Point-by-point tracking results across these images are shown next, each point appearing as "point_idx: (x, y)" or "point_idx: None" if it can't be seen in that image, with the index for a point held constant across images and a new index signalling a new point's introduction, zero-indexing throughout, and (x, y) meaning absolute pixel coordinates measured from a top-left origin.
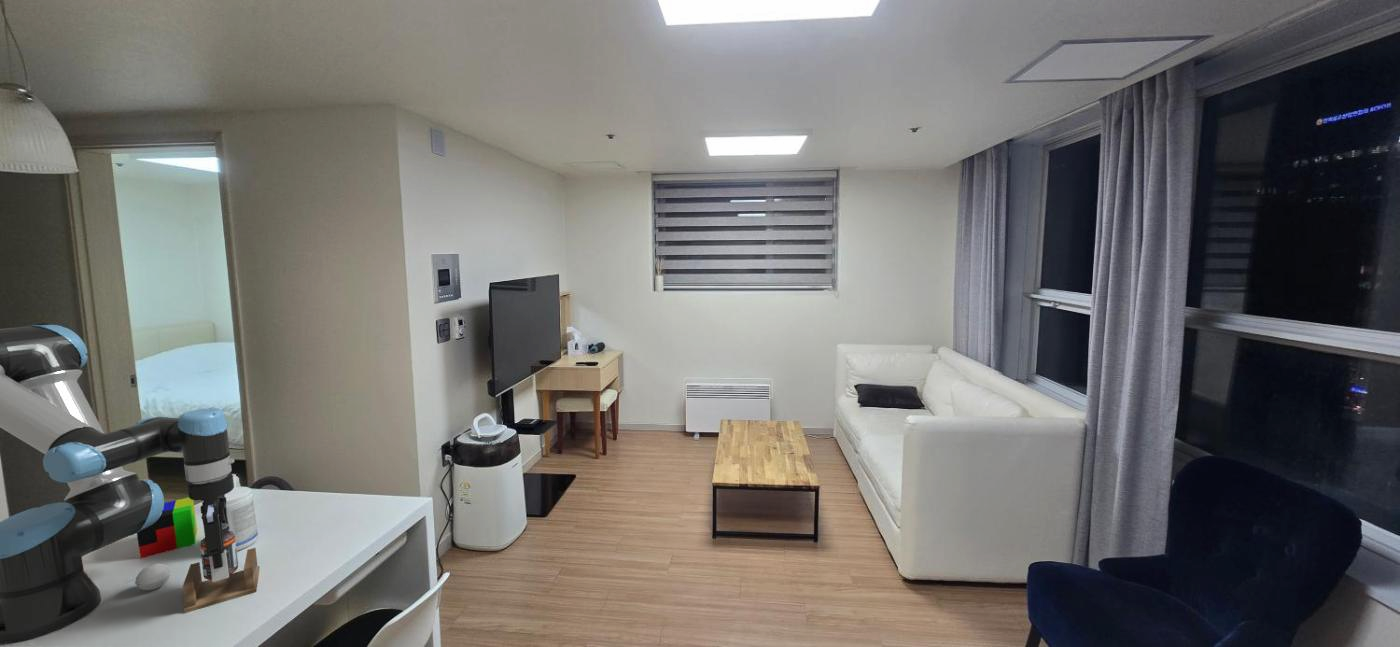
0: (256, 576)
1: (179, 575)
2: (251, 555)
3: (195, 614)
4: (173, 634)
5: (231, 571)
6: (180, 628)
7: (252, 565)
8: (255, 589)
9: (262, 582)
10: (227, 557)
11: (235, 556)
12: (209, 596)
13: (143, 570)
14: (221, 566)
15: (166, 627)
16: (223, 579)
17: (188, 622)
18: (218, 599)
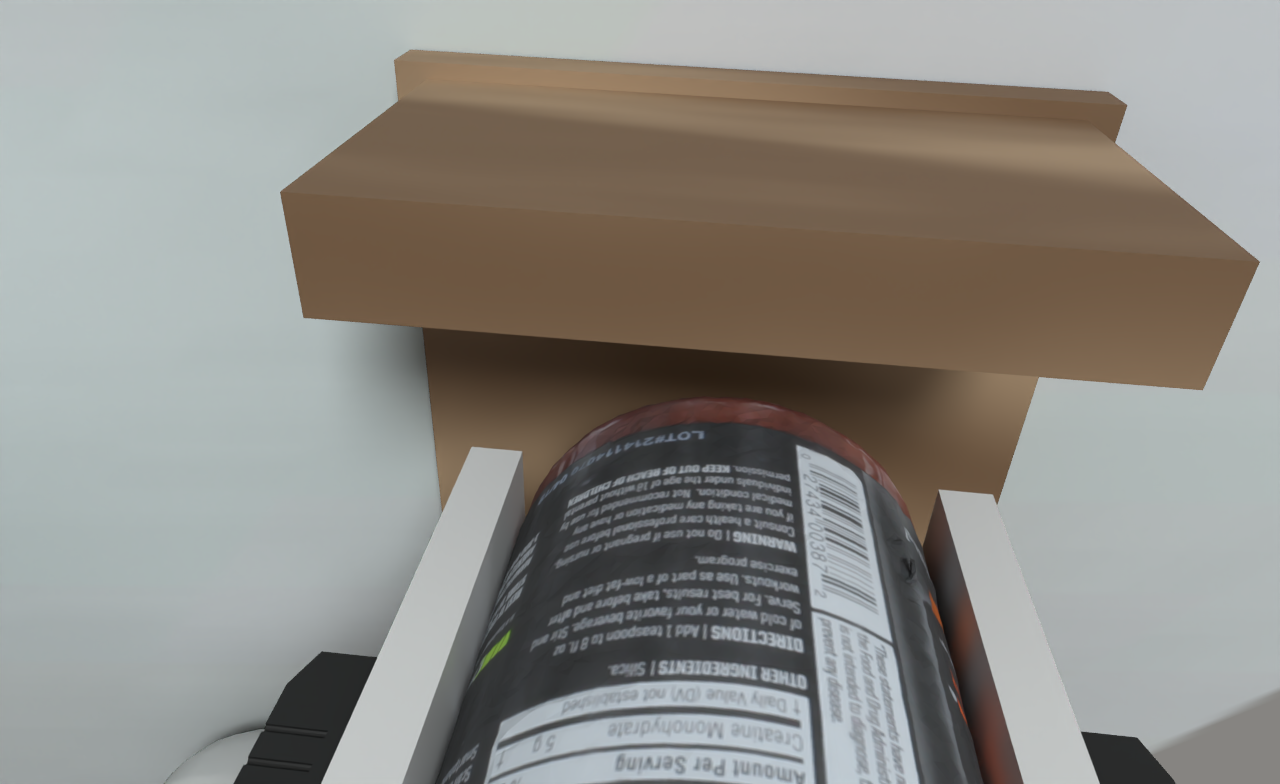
0: (724, 96)
1: (158, 648)
2: (639, 264)
3: (1052, 576)
4: (1268, 684)
5: (892, 485)
6: (1211, 653)
7: (1175, 256)
8: (1117, 108)
9: (878, 14)
10: (966, 745)
11: (826, 579)
12: None
13: None
14: (1141, 760)
15: (1078, 712)
16: (529, 414)
17: (1160, 613)
18: (1008, 456)
